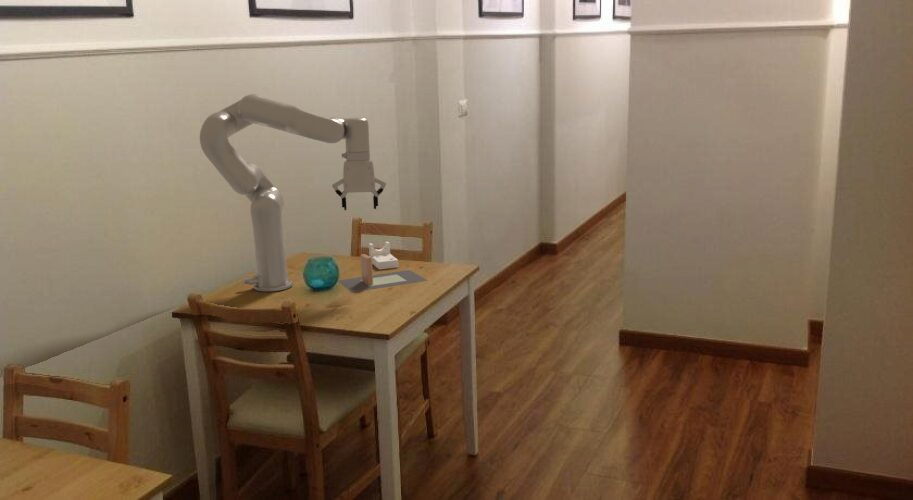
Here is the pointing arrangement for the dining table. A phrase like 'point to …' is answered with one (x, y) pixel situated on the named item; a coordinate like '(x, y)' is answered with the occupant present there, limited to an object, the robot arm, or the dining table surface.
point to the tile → (367, 269)
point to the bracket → (382, 257)
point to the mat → (382, 280)
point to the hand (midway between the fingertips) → (360, 209)
